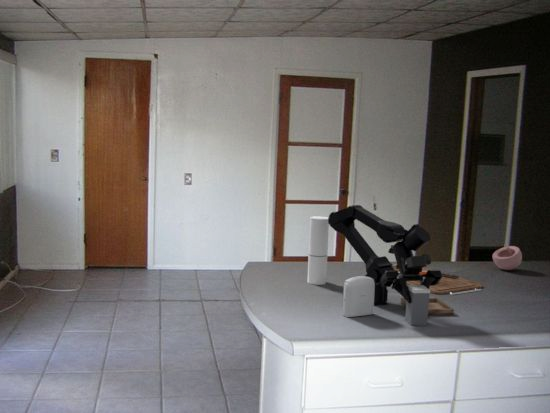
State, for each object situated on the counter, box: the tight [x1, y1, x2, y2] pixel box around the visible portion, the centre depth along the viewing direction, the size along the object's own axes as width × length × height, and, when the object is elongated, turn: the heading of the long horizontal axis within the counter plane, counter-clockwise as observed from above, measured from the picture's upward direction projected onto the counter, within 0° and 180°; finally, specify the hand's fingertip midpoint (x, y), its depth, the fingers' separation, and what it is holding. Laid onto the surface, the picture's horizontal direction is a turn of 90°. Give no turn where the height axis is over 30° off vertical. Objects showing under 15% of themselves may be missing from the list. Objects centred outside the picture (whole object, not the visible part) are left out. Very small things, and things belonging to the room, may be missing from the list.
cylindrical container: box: [306, 215, 330, 286], centre depth 212 cm, size 7×7×25 cm
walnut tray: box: [400, 297, 455, 316], centre depth 184 cm, size 13×13×2 cm
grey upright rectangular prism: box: [404, 285, 431, 326], centre depth 169 cm, size 5×5×11 cm
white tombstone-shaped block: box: [342, 275, 375, 318], centre depth 175 cm, size 10×4×12 cm, turn 114°
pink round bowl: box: [492, 244, 523, 271], centre depth 245 cm, size 12×12×11 cm
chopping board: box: [392, 263, 483, 296], centre depth 225 cm, size 45×27×3 cm, turn 30°
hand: (418, 302), depth 168 cm, fingers closed on grey upright rectangular prism, 5 cm apart
